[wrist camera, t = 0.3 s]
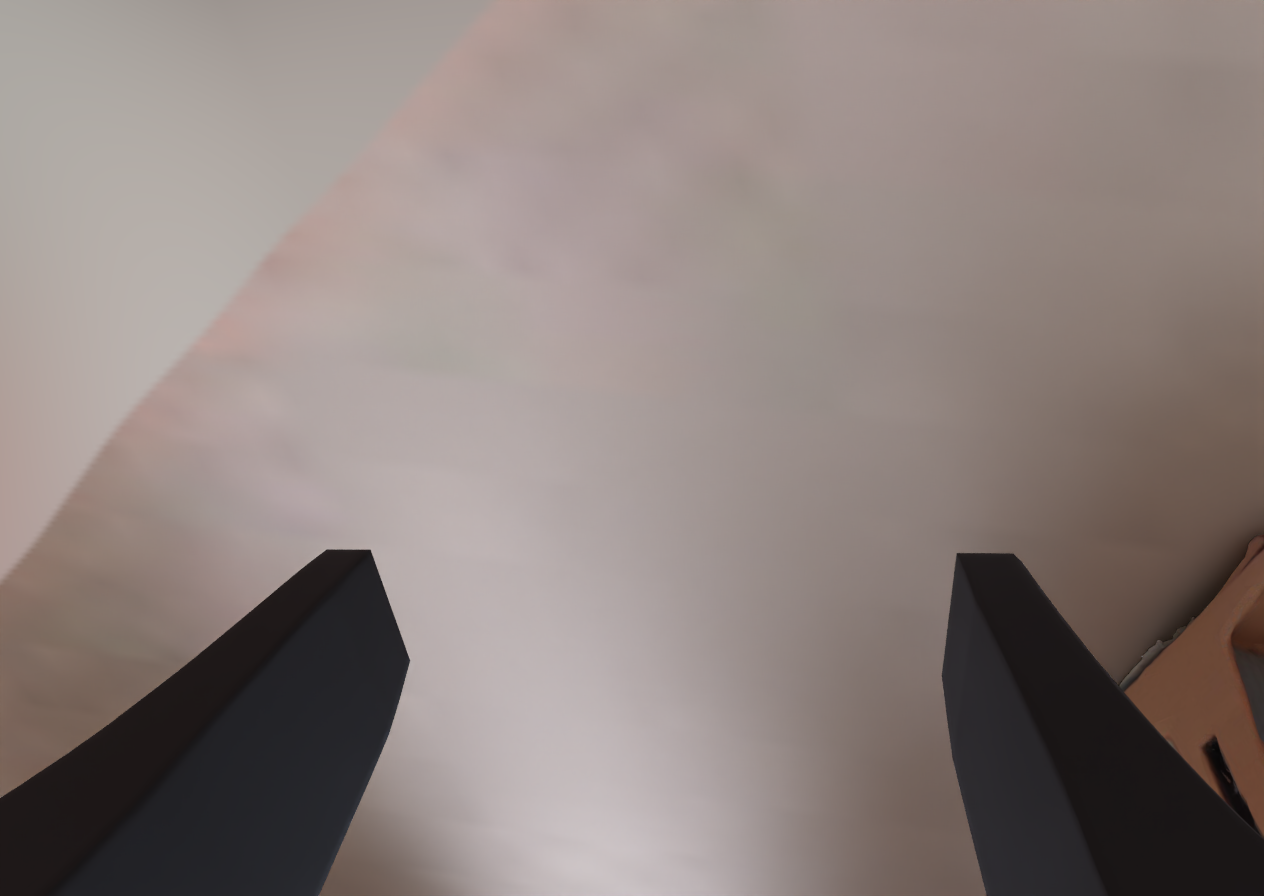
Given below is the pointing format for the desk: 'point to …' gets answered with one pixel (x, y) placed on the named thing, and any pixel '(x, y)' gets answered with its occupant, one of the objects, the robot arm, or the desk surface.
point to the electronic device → (1215, 689)
